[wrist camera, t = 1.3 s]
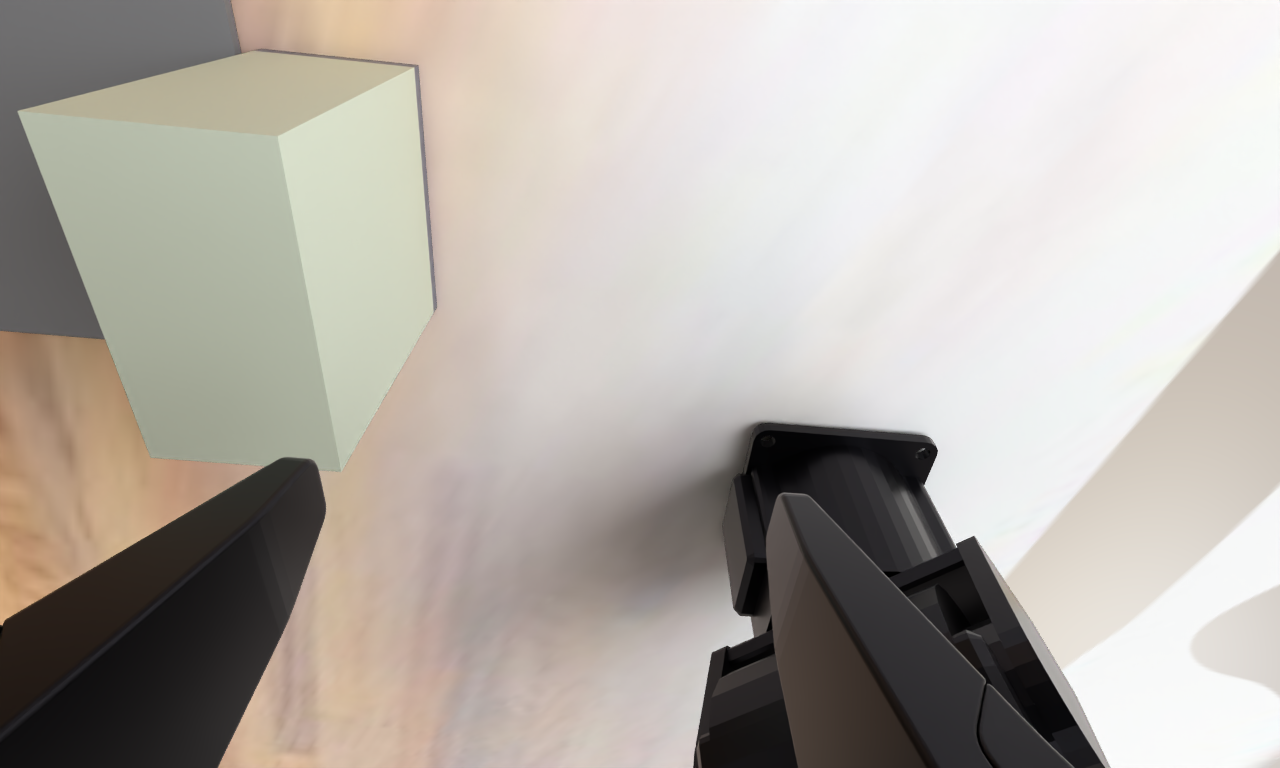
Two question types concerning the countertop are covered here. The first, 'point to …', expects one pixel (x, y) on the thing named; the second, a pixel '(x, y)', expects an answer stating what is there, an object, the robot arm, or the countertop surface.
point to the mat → (62, 68)
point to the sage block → (249, 246)
